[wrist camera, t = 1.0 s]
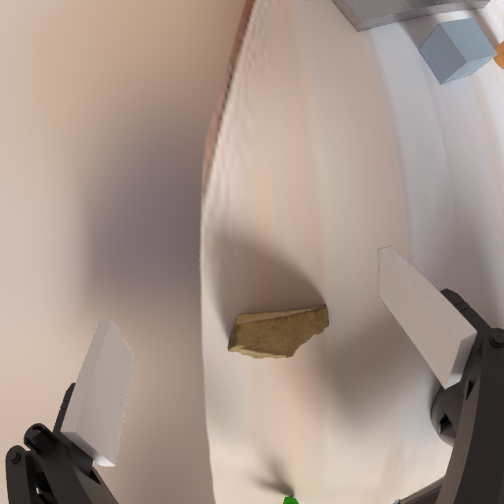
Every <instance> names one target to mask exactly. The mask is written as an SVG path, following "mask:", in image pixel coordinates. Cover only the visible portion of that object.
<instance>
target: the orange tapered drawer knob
mask: <svg viewBox="0 0 504 504" xmlns="http://www.w3.org/2000/svg"><path fill="white" fill-rule="evenodd" d="M495 50H496V52H497V55H496V56H495V57H494V60H495V61H496V63H497V64H498V65H499V66H500V67H501V68H503V69H504V41H503V42H502V43H501V44H500V45H498V46H497V47H496V48H495Z"/></svg>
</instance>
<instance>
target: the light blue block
mask: <svg viewBox="0 0 504 504" xmlns="http://www.w3.org/2000/svg"><path fill="white" fill-rule="evenodd" d="M419 52H420V53H421V55H422V56H423V58H424V59H425V61H426V62H427V64H428V65H429V67H430V68H431V70H432V72H433V73H434V75H435V76H436V78H437V80H438V81H439V83H440V84H444V83H447V82H450V81H453V80H456V79H459V78H462V77H465V76H468V75H471V74H473V73H474V72H475V71H477V70H478V69H479V68H480V67H482V66H483V65H484V64H486V63H487V62H488V61H490V60H491V59H492V58H494V57H495V56H496V55H497V52H496V50H495V49H494V47H493V46H492V44H491V43H490V41H489V40H488V38H487V37H486V35H485V34H484V33H483V31H482V30H481V28H480V27H479V26H478V24H477V23H476V22H475V20H474V19H473V18H468V19H461V20H455V21H449V22H444V23H439V24H438V26H437V27H436V28H435V30H434V31H433V32H432V34H431V35H430V36H429V38H428V39H427V40H426V41H425V43H424V44H423V45H422V47H421V48H420V49H419Z"/></svg>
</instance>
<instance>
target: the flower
mask: <svg viewBox="0 0 504 504" xmlns="http://www.w3.org/2000/svg"><path fill="white" fill-rule="evenodd" d="M283 504H299V503H298V501H297V500H296V499H295V498H293V496H291V497H285V499H284V502H283Z"/></svg>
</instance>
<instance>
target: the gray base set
mask: <svg viewBox="0 0 504 504" xmlns="http://www.w3.org/2000/svg"><path fill="white" fill-rule="evenodd" d="M332 1H333V2H334V3H335V4H336V5H337V7H338V8H339V9H340V10H341V11H342V12H343V14H344V15H345V16H346V17H347V18H348V20H349V21H350V22H351V23H352V25H353V26H354V27H355V28H356V30H357V31H358V32H360V31H364V30H367V29H371V28H374V27H378V26H382V25H386V24H390V23H394V22H398V21H403V20H407V19H412V18H417V17H422V16H427V15H432V14H438V13H445V12H451V11H459V10H467V9H477V8H484V7H485V6H486V5H487V4H488V2H489V1H490V0H332Z"/></svg>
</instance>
